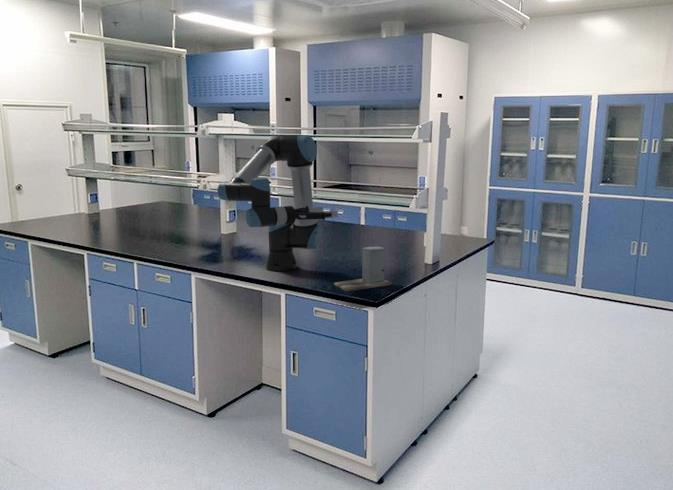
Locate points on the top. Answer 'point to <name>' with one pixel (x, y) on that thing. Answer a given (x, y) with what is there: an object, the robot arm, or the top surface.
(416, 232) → the top surface
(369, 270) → the skincare box
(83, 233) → the top surface
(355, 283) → the board
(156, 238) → the top surface
